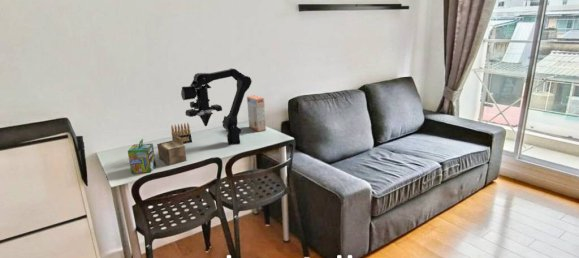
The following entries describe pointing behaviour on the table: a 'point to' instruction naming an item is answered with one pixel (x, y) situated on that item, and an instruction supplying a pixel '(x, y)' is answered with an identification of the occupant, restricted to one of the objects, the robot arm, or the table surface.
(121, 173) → the table surface
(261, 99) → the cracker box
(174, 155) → the walnut box
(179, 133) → the ammunition clip
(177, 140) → the lid
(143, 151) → the chalk box
